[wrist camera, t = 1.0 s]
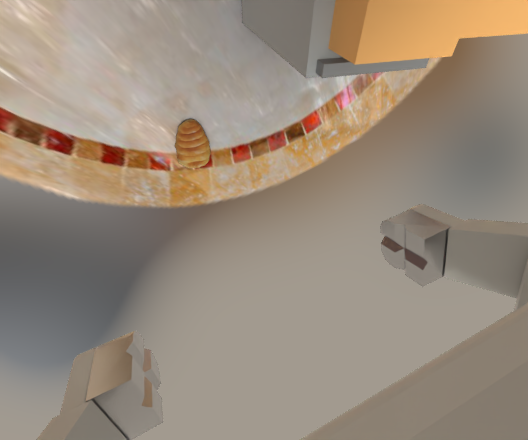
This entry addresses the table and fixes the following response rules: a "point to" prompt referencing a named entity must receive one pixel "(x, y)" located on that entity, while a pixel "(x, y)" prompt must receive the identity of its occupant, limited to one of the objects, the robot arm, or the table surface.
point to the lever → (418, 26)
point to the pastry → (192, 145)
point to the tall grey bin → (308, 37)
